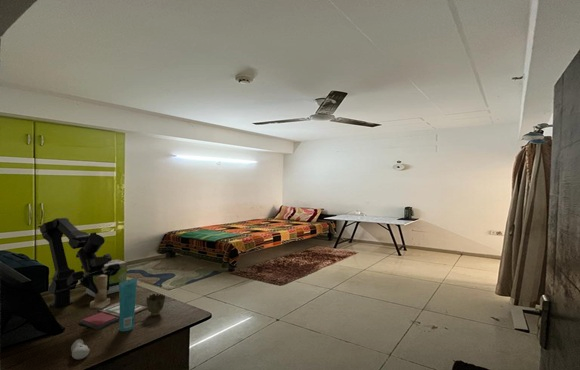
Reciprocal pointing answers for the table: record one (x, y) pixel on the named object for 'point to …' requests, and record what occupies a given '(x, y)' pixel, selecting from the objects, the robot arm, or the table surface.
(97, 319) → the ink pad
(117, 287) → the tea box
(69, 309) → the table surface
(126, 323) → the tube
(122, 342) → the table surface
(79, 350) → the pale two-lobed sculpture
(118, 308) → the wooden picture frame
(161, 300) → the cup
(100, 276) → the stamp
